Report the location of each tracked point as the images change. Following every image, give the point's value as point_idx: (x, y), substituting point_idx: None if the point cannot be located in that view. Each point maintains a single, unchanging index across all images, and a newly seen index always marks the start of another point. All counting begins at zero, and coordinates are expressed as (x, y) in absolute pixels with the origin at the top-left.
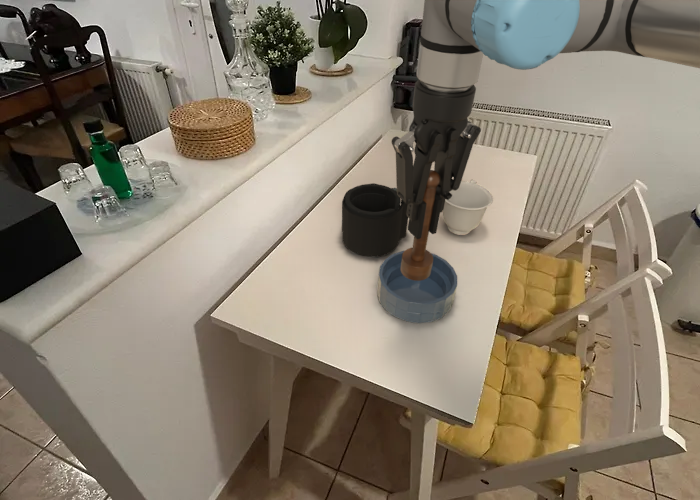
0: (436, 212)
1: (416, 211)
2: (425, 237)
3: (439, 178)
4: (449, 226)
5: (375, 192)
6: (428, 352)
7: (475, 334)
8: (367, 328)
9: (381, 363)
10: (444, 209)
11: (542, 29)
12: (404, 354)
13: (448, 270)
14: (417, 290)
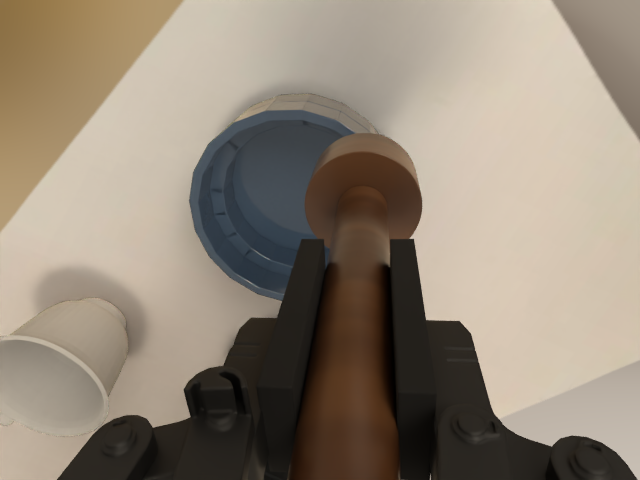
0: (306, 318)
1: (445, 365)
2: (356, 239)
3: None
4: (123, 329)
5: (267, 478)
6: (368, 11)
7: (223, 12)
8: (464, 145)
9: (497, 31)
10: (116, 373)
11: None
12: (428, 32)
13: (202, 202)
14: (291, 196)
